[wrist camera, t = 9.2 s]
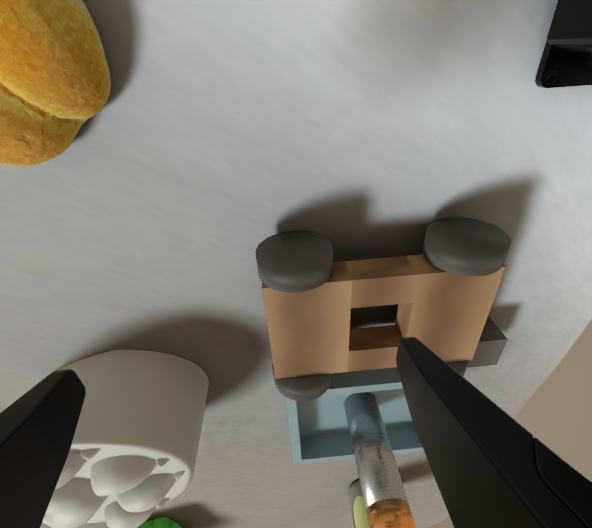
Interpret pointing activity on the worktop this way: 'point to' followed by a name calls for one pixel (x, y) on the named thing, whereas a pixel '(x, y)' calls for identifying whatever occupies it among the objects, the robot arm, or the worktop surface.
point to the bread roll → (47, 77)
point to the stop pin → (376, 464)
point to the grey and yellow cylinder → (357, 506)
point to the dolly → (380, 303)
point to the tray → (333, 423)
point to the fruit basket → (160, 523)
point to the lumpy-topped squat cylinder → (130, 438)
